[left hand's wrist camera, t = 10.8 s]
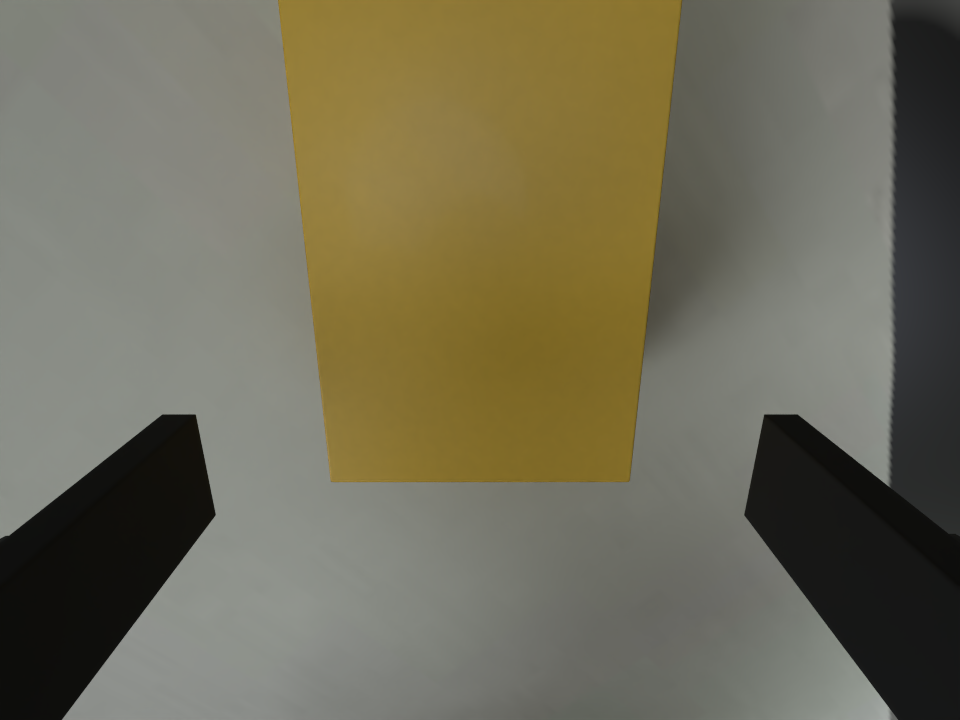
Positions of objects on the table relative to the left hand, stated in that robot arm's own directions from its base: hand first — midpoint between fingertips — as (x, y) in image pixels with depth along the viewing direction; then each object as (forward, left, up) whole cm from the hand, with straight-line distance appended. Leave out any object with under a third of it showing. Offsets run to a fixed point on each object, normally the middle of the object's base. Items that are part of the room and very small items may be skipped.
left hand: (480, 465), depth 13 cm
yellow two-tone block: (+5, -1, -15) cm, 15 cm away
